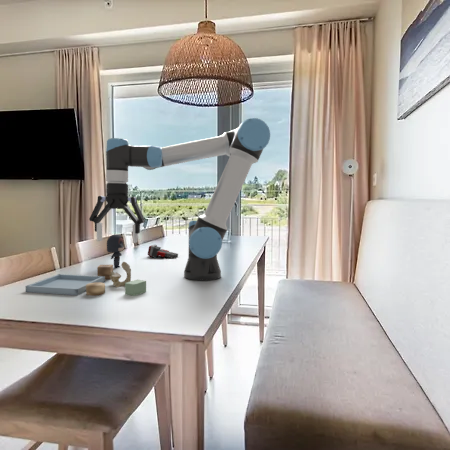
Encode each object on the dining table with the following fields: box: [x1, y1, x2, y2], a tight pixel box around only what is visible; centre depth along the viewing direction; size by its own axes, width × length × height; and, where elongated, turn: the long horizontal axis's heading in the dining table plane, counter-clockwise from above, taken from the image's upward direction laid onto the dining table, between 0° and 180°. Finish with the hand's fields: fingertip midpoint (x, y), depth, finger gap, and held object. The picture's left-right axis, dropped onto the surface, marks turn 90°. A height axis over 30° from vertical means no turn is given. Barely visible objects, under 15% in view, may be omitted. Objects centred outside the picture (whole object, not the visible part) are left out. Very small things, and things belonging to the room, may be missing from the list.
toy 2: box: [147, 244, 179, 259], centre depth 195 cm, size 9×6×15 cm
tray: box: [24, 273, 106, 296], centre depth 132 cm, size 19×19×2 cm
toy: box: [106, 234, 125, 269], centre depth 166 cm, size 9×8×15 cm
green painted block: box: [124, 278, 147, 297], centre depth 125 cm, size 4×6×4 cm, turn 151°
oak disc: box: [85, 282, 106, 297], centre depth 124 cm, size 6×6×3 cm
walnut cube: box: [96, 264, 114, 281], centre depth 146 cm, size 5×5×5 cm
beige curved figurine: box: [109, 261, 132, 288], centre depth 135 cm, size 9×6×10 cm
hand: (117, 241), depth 133 cm, fingers open, 13 cm apart
